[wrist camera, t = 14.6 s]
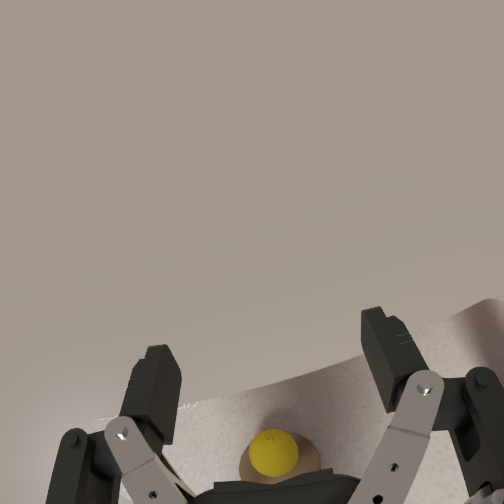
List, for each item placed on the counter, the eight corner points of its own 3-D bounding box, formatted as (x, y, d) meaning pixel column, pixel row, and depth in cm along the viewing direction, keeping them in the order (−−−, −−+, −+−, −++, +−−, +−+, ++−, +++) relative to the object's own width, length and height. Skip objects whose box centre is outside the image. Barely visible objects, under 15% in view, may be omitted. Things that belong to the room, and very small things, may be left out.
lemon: (256, 448, 35) (243, 419, 32) (300, 445, 35) (294, 415, 31) (255, 485, 30) (240, 462, 27) (301, 482, 30) (296, 459, 26)
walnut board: (335, 453, 33) (335, 450, 33) (289, 514, 27) (288, 513, 26) (271, 423, 39) (270, 421, 39) (224, 476, 33) (223, 474, 33)
